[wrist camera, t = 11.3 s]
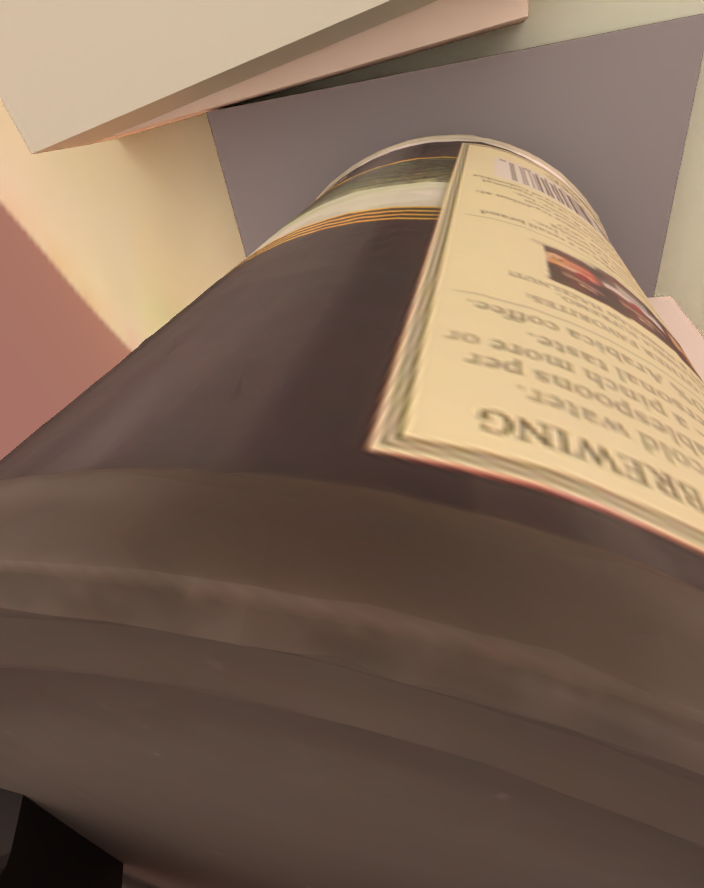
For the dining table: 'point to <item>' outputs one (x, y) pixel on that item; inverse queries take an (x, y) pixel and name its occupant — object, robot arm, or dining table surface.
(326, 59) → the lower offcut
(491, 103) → the slate mat
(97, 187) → the dining table surface
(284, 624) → the coffee can
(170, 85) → the upper offcut
